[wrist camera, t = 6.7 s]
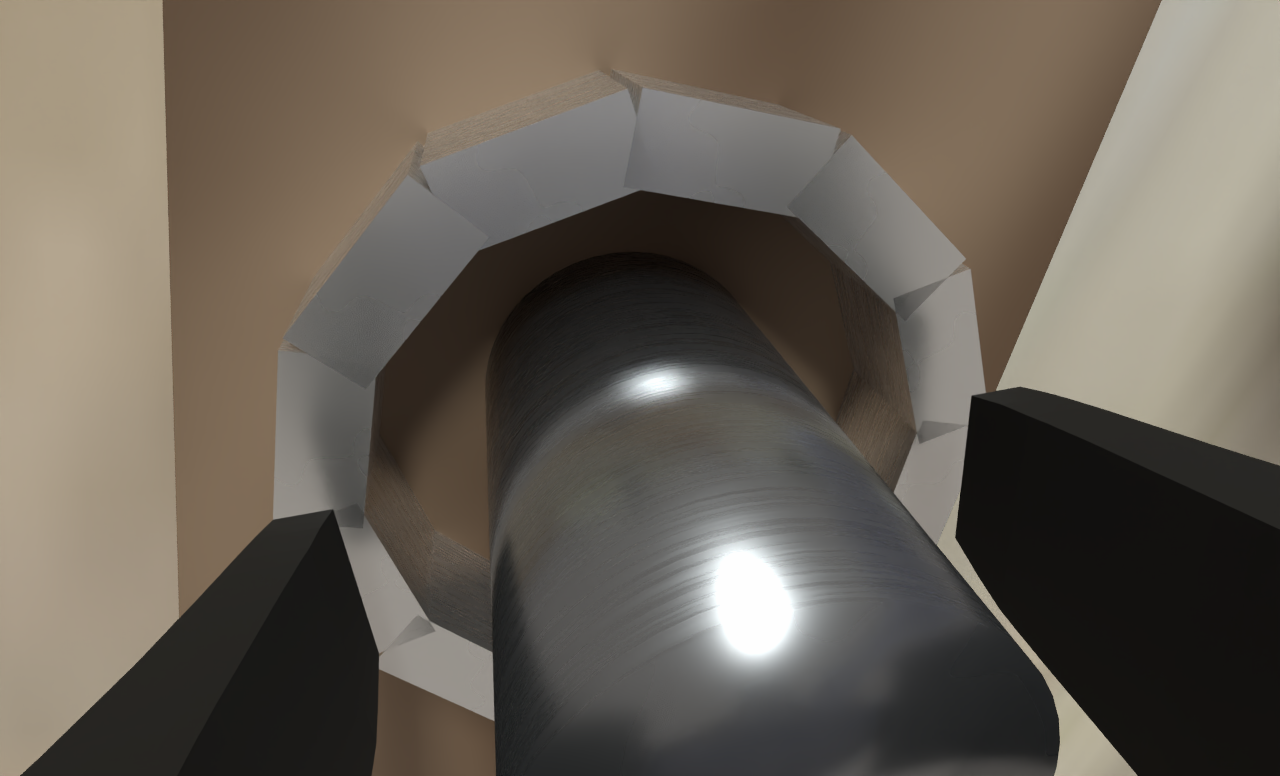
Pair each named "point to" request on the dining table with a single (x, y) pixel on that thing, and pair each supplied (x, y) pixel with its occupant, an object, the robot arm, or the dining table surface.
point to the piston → (717, 560)
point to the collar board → (584, 251)
